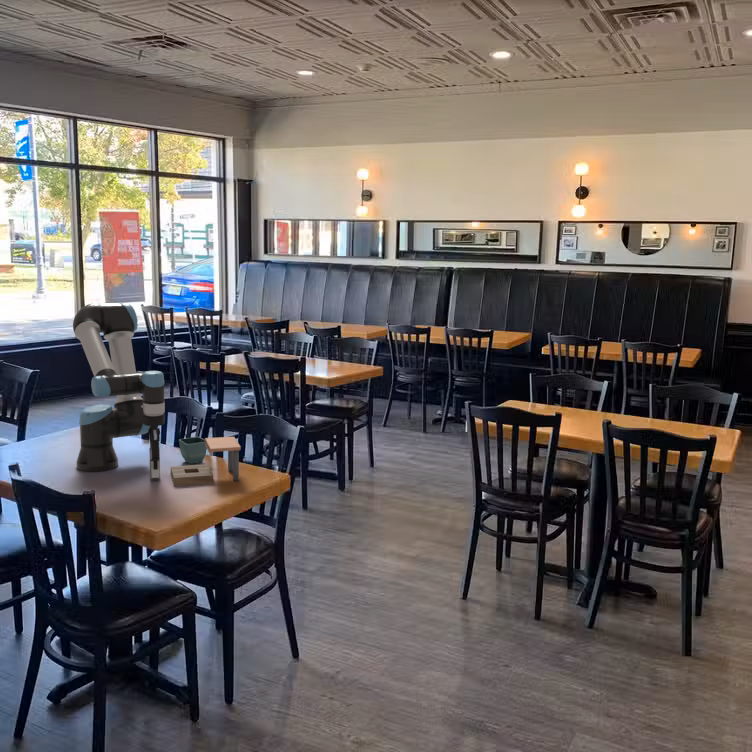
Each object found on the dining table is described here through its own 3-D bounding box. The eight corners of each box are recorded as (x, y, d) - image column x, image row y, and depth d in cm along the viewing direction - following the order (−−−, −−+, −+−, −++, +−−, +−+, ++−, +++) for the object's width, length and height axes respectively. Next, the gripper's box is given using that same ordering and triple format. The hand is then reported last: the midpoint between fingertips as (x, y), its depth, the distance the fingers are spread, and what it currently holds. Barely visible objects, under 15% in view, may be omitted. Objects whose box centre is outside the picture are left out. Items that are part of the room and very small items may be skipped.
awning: (205, 471, 293) (205, 438, 290) (233, 469, 296) (234, 436, 294) (210, 483, 279) (210, 448, 277) (240, 481, 283) (240, 446, 280)
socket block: (170, 474, 288) (170, 466, 287) (208, 471, 293) (208, 464, 292) (174, 485, 275) (173, 477, 274) (213, 482, 280) (213, 475, 279)
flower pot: (187, 466, 298) (186, 444, 297) (178, 460, 305) (178, 439, 304) (208, 463, 303) (207, 441, 302) (199, 457, 310) (199, 436, 309)
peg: (149, 478, 282) (149, 447, 280) (159, 477, 284) (159, 446, 281) (150, 481, 279) (149, 449, 277) (160, 480, 280) (159, 449, 278)
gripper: (141, 408, 284) (143, 468, 288) (144, 420, 267) (145, 483, 271) (162, 407, 286) (163, 467, 290) (166, 419, 270) (167, 481, 274)
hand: (155, 475), depth 281 cm, fingers open, 5 cm apart
